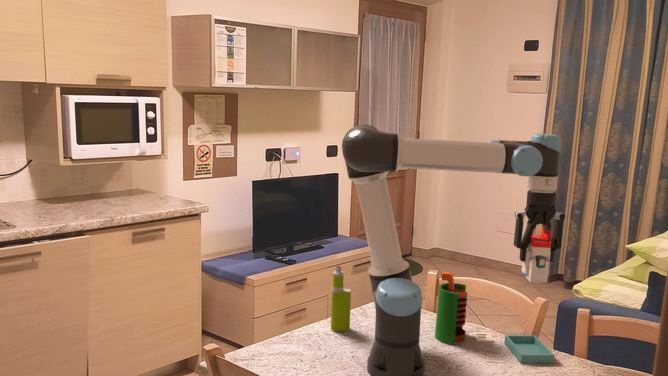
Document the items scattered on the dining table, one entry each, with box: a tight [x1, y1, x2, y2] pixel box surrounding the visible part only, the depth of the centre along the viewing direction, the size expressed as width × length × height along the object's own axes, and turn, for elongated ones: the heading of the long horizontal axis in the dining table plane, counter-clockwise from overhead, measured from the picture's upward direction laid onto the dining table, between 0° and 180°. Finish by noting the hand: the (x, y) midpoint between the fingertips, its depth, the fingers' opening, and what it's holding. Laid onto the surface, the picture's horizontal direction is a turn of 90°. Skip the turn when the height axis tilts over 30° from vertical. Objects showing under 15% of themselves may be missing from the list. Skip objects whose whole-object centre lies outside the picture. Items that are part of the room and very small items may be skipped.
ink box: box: [521, 225, 553, 284], centre depth 161 cm, size 8×5×15 cm, turn 178°
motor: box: [434, 271, 469, 346], centre depth 173 cm, size 10×9×20 cm
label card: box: [471, 331, 495, 343], centre depth 175 cm, size 5×6×1 cm
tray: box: [504, 334, 555, 365], centre depth 165 cm, size 9×13×2 cm
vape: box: [330, 265, 352, 332], centre depth 177 cm, size 4×6×20 cm, turn 92°
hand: (534, 272), depth 162 cm, fingers closed on ink box, 5 cm apart
